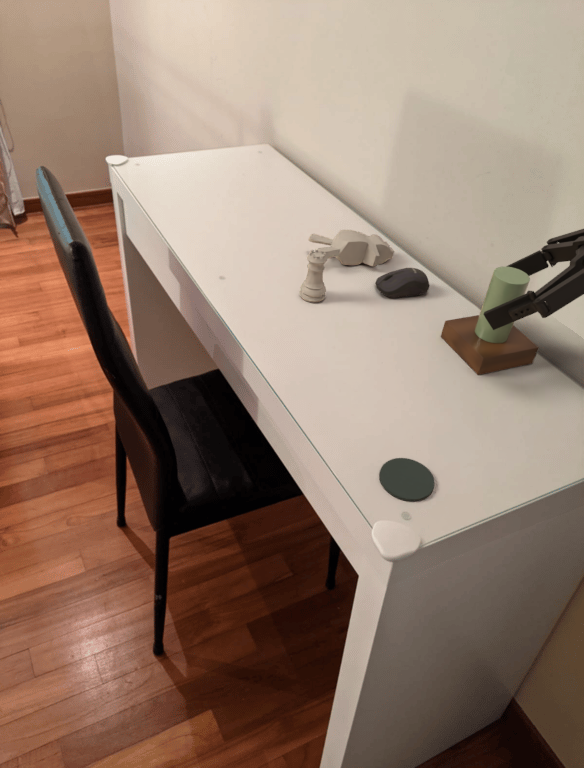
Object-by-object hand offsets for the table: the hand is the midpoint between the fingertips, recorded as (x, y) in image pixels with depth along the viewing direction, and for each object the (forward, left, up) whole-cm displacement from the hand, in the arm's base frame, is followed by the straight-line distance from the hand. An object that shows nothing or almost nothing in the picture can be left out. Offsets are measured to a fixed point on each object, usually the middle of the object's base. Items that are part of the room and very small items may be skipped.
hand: (495, 298), depth 88 cm
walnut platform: (-1, -1, -9) cm, 9 cm away
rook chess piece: (+20, +19, -9) cm, 29 cm away
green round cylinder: (-1, -1, -6) cm, 6 cm away
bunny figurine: (+30, +7, -9) cm, 32 cm away
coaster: (-20, +25, -9) cm, 33 cm away
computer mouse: (+18, +3, -9) cm, 21 cm away
